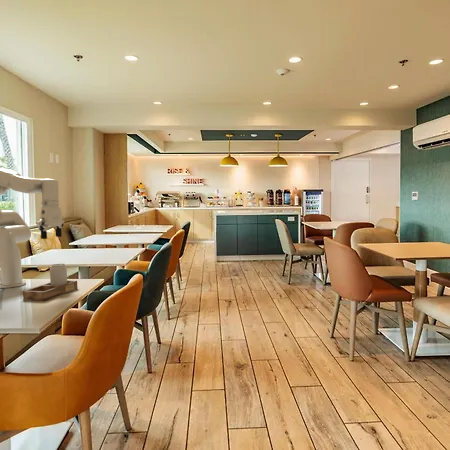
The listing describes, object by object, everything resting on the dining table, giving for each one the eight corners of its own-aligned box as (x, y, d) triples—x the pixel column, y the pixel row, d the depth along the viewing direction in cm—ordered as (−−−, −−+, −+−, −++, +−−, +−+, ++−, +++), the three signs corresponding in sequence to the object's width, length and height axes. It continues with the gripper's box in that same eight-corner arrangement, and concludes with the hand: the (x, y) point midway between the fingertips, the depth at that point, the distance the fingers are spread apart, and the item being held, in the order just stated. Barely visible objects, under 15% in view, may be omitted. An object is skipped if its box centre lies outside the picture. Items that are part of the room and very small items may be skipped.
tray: (23, 299, 161) (22, 291, 161) (58, 287, 182) (57, 279, 182) (44, 301, 158) (44, 292, 158) (78, 288, 179) (77, 280, 179)
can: (52, 287, 178) (51, 263, 177) (68, 286, 180) (67, 262, 179) (49, 291, 171) (48, 266, 170) (66, 289, 173) (65, 265, 172)
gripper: (43, 204, 170) (44, 240, 172) (69, 203, 187) (69, 236, 188) (30, 204, 173) (31, 239, 174) (57, 203, 189) (58, 235, 190)
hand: (51, 237), depth 181 cm, fingers open, 9 cm apart
